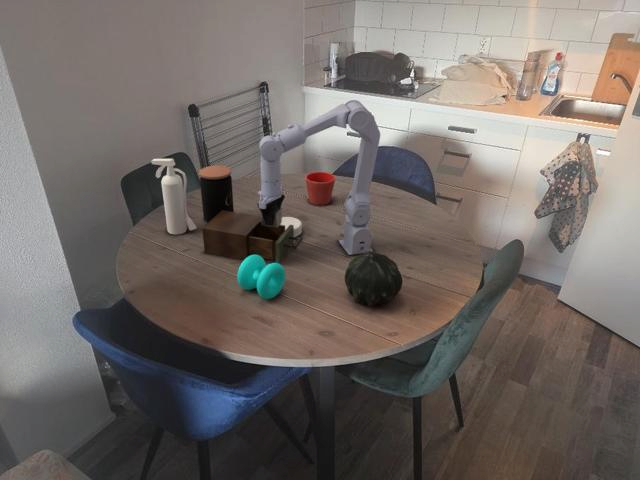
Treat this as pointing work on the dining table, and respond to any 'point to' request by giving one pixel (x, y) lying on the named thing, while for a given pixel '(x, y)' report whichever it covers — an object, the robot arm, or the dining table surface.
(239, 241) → the cabinet
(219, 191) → the coffee jar
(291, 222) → the white ridged disc
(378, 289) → the squash
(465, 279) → the dining table surface
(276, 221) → the cube with black handle
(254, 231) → the drawer
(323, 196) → the flower pot
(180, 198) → the fire extinguisher
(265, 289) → the teal yo-yo
